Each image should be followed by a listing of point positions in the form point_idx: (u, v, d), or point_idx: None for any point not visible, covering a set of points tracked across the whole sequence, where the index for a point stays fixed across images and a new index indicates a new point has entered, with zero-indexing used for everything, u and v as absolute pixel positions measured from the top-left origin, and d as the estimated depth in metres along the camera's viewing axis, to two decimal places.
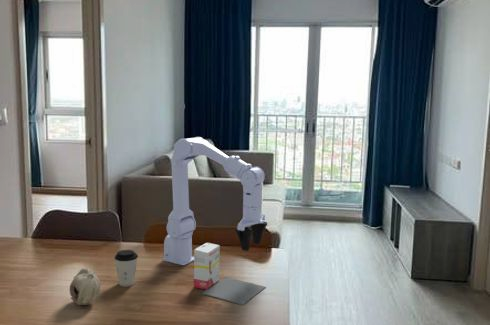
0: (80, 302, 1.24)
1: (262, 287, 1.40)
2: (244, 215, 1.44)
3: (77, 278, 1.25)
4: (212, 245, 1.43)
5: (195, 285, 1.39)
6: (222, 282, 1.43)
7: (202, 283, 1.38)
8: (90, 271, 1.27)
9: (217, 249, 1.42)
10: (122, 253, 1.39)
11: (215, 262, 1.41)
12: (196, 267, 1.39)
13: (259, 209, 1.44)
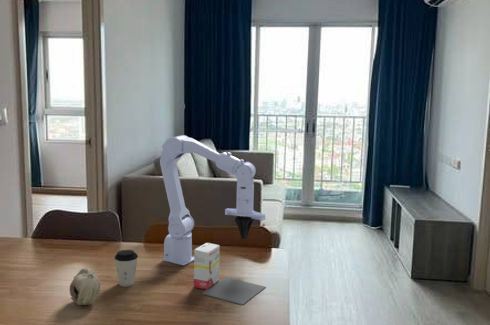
0: (80, 302, 1.24)
1: (262, 287, 1.40)
2: None
3: (77, 278, 1.25)
4: (212, 245, 1.43)
5: (195, 285, 1.39)
6: (222, 282, 1.43)
7: (202, 283, 1.38)
8: (90, 271, 1.27)
9: (217, 249, 1.42)
10: (122, 253, 1.39)
11: (215, 262, 1.41)
12: (196, 267, 1.39)
13: (240, 202, 1.51)
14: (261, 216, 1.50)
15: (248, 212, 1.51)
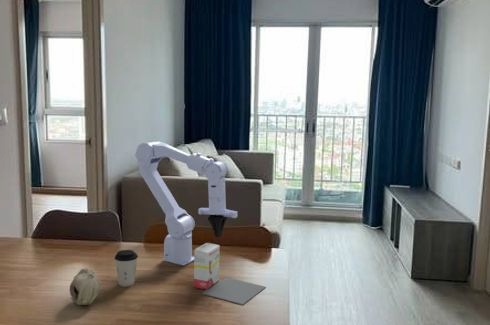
0: (80, 302, 1.24)
1: (262, 287, 1.40)
2: None
3: (77, 278, 1.25)
4: (212, 245, 1.43)
5: (195, 285, 1.39)
6: (222, 282, 1.43)
7: (202, 283, 1.38)
8: (90, 271, 1.27)
9: (217, 249, 1.42)
10: (122, 253, 1.39)
11: (215, 262, 1.41)
12: (196, 267, 1.39)
13: (212, 201, 1.53)
14: (233, 213, 1.51)
15: (220, 210, 1.53)
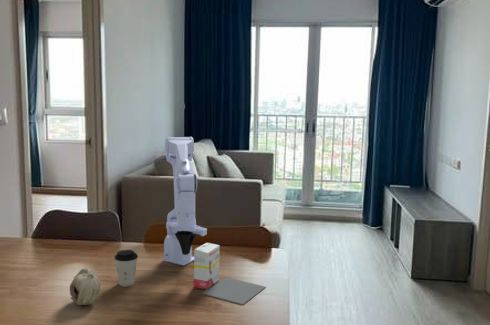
0: (80, 302, 1.24)
1: (262, 287, 1.40)
2: None
3: (77, 278, 1.25)
4: (212, 245, 1.43)
5: (195, 285, 1.39)
6: (222, 282, 1.43)
7: (202, 283, 1.38)
8: (90, 271, 1.27)
9: (217, 249, 1.42)
10: (122, 253, 1.39)
11: (215, 262, 1.41)
12: (196, 267, 1.38)
13: (179, 216, 1.41)
14: (202, 231, 1.40)
15: (188, 226, 1.42)
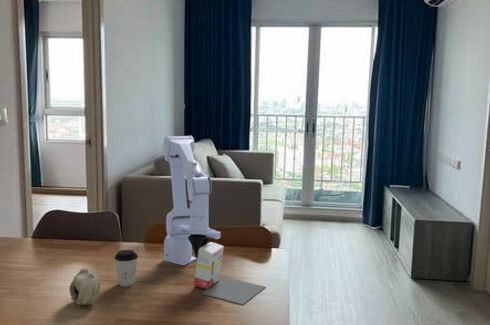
0: (80, 302, 1.24)
1: (262, 287, 1.40)
2: None
3: (77, 278, 1.25)
4: (216, 245, 1.43)
5: (195, 283, 1.39)
6: (222, 282, 1.43)
7: (203, 282, 1.38)
8: (90, 271, 1.27)
9: (221, 250, 1.42)
10: (122, 253, 1.39)
11: (217, 263, 1.41)
12: (199, 266, 1.38)
13: (193, 219, 1.39)
14: (215, 234, 1.38)
15: (202, 230, 1.39)
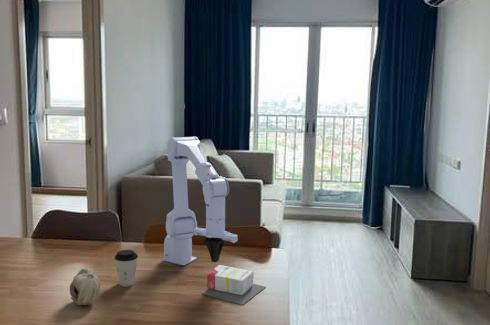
0: (80, 302, 1.24)
1: (262, 287, 1.40)
2: None
3: (77, 278, 1.25)
4: (251, 281, 1.39)
5: (209, 276, 1.37)
6: None
7: (212, 284, 1.37)
8: (90, 271, 1.27)
9: None
10: (122, 253, 1.39)
11: None
12: (226, 280, 1.35)
13: (209, 222, 1.36)
14: (233, 238, 1.35)
15: (218, 233, 1.36)
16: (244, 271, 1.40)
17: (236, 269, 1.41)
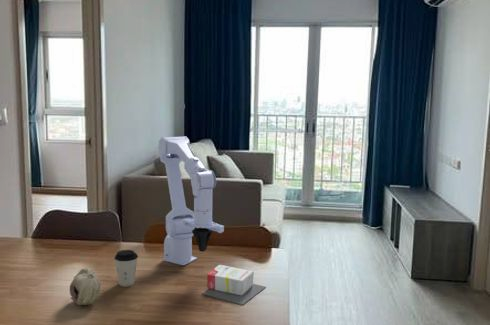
0: (80, 302, 1.24)
1: (262, 287, 1.40)
2: None
3: (77, 278, 1.25)
4: (251, 281, 1.39)
5: (208, 276, 1.37)
6: None
7: (212, 284, 1.37)
8: (90, 271, 1.27)
9: None
10: (122, 253, 1.39)
11: None
12: (226, 281, 1.35)
13: (197, 213, 1.42)
14: (219, 228, 1.41)
15: (206, 223, 1.43)
16: (244, 271, 1.40)
17: (236, 269, 1.41)
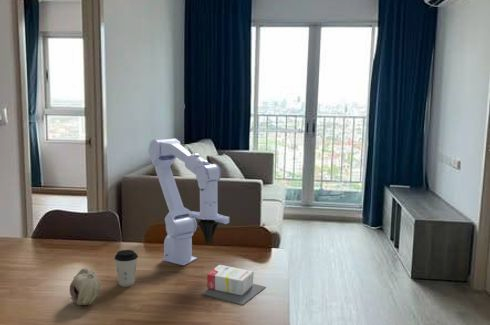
0: (80, 302, 1.24)
1: (262, 287, 1.40)
2: None
3: (77, 278, 1.25)
4: (251, 281, 1.39)
5: (208, 276, 1.37)
6: None
7: (212, 284, 1.37)
8: (90, 271, 1.27)
9: None
10: (122, 253, 1.39)
11: None
12: (226, 281, 1.35)
13: (203, 205, 1.46)
14: (224, 219, 1.45)
15: (211, 215, 1.46)
16: (244, 271, 1.40)
17: (236, 269, 1.41)
